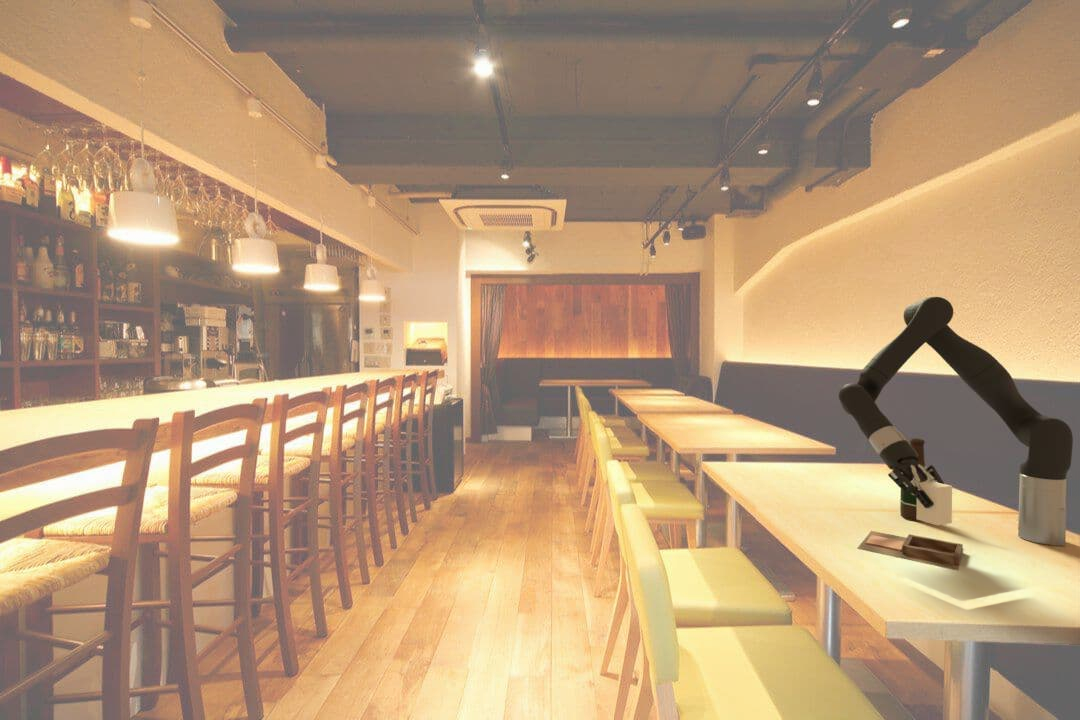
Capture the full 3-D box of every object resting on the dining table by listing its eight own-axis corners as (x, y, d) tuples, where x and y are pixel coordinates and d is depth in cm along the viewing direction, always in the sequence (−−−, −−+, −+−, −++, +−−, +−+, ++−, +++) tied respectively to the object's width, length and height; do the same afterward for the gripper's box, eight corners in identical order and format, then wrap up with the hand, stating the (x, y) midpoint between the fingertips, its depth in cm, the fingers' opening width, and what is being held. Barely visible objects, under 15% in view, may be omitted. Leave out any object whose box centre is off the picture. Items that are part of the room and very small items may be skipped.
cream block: (930, 517, 136) (931, 481, 136) (951, 523, 132) (952, 485, 131) (916, 519, 135) (916, 482, 135) (936, 525, 130) (937, 487, 130)
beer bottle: (930, 523, 160) (932, 442, 160) (899, 518, 165) (900, 439, 164) (931, 517, 166) (933, 438, 166) (901, 512, 171) (902, 436, 170)
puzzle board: (963, 553, 137) (963, 540, 136) (957, 575, 123) (958, 561, 123) (871, 535, 150) (871, 523, 150) (856, 553, 136) (857, 540, 136)
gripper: (881, 440, 138) (928, 500, 127) (922, 437, 143) (971, 494, 132) (862, 457, 143) (906, 516, 132) (902, 454, 148) (948, 510, 137)
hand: (938, 505), depth 132 cm, fingers closed on cream block, 5 cm apart
